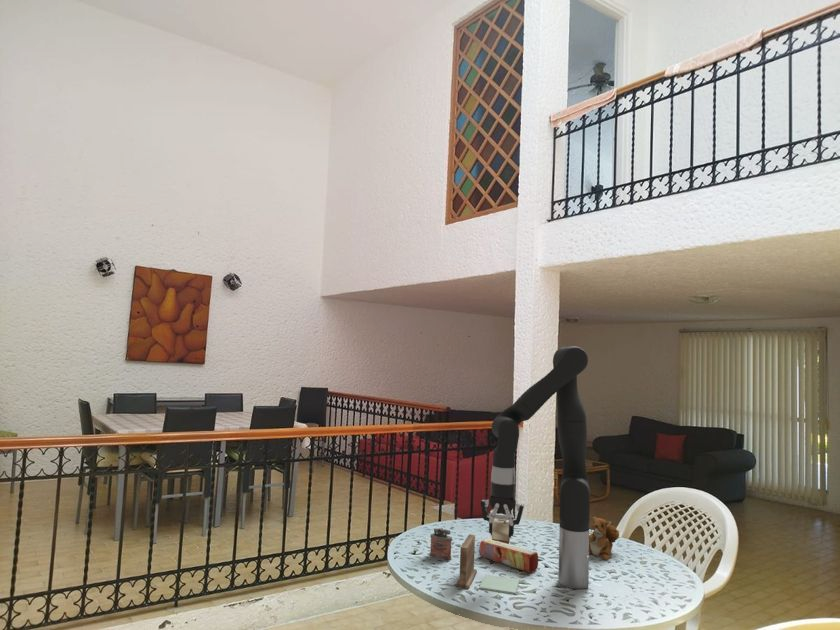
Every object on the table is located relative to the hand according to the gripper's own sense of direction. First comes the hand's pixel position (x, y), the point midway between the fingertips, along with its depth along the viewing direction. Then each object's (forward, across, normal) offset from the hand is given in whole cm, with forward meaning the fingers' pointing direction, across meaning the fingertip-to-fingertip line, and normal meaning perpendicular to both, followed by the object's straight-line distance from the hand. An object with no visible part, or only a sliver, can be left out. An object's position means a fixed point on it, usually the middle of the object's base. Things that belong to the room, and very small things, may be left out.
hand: (501, 535), depth 176 cm
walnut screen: (+15, +10, 0) cm, 18 cm away
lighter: (+15, +23, -16) cm, 32 cm away
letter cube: (+1, 0, 0) cm, 1 cm away
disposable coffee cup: (+15, +5, -39) cm, 42 cm away
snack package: (+15, 0, -19) cm, 25 cm away
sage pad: (+15, 0, 0) cm, 15 cm away
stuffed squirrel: (+15, -32, -44) cm, 56 cm away
